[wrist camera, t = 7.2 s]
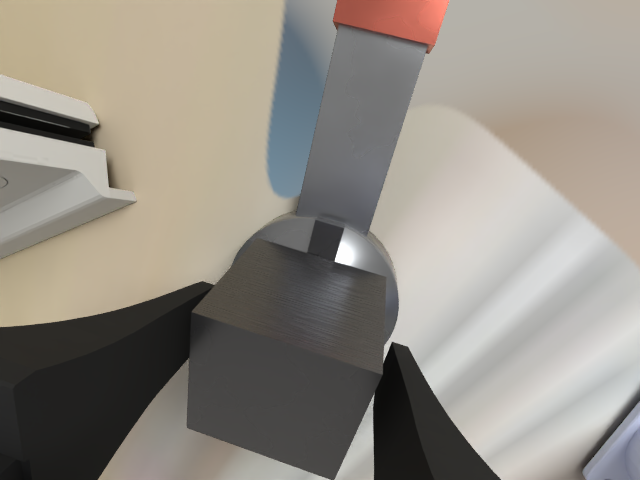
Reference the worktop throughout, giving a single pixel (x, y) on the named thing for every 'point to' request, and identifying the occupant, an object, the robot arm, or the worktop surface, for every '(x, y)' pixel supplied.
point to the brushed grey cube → (287, 356)
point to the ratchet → (359, 135)
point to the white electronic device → (48, 166)
